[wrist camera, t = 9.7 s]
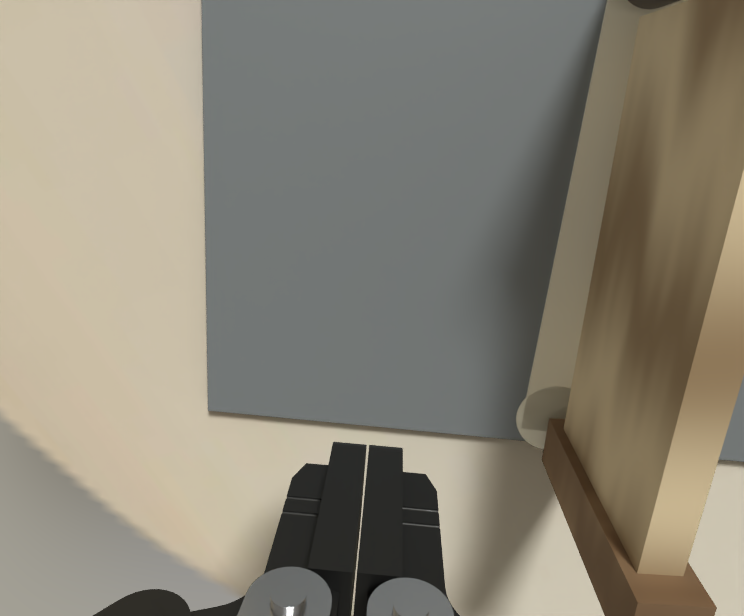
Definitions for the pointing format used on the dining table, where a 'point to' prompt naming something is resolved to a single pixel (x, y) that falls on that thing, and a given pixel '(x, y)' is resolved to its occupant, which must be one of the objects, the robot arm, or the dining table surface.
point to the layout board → (408, 207)
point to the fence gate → (660, 318)
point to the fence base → (651, 3)
